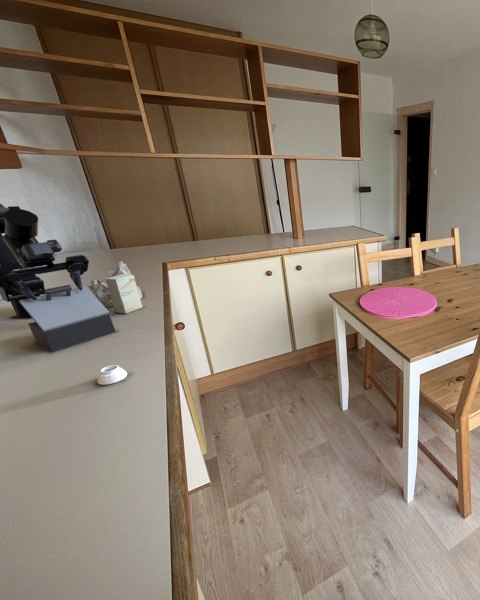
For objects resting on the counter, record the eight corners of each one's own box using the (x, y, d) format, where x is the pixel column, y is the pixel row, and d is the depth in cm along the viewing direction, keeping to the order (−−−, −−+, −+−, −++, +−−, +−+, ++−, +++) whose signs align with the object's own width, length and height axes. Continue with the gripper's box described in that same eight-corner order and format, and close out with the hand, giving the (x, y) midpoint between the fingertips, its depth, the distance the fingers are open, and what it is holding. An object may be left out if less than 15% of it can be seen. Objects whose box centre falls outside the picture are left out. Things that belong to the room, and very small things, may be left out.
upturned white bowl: (129, 378, 72) (124, 370, 75) (126, 368, 71) (120, 360, 74) (101, 389, 68) (96, 380, 71) (96, 377, 67) (92, 369, 70)
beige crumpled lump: (144, 289, 127) (131, 253, 121) (141, 303, 115) (125, 264, 109) (94, 298, 120) (77, 260, 113) (84, 314, 107) (64, 273, 101)
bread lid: (19, 302, 82) (16, 290, 79) (86, 288, 93) (86, 276, 91) (43, 331, 80) (41, 320, 77) (109, 313, 91) (109, 302, 89)
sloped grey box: (36, 342, 86) (28, 323, 84) (98, 324, 98) (92, 307, 96) (52, 352, 82) (44, 332, 80) (115, 331, 93) (109, 314, 91)
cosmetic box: (125, 314, 105) (115, 279, 101) (115, 312, 106) (103, 278, 102) (143, 307, 111) (134, 274, 107) (133, 306, 112) (123, 273, 107)
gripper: (-30, 235, 74) (7, 287, 73) (74, 227, 90) (105, 269, 89) (-25, 263, 80) (9, 311, 80) (71, 250, 96) (100, 290, 95)
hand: (59, 294), depth 86 cm, fingers open, 9 cm apart
